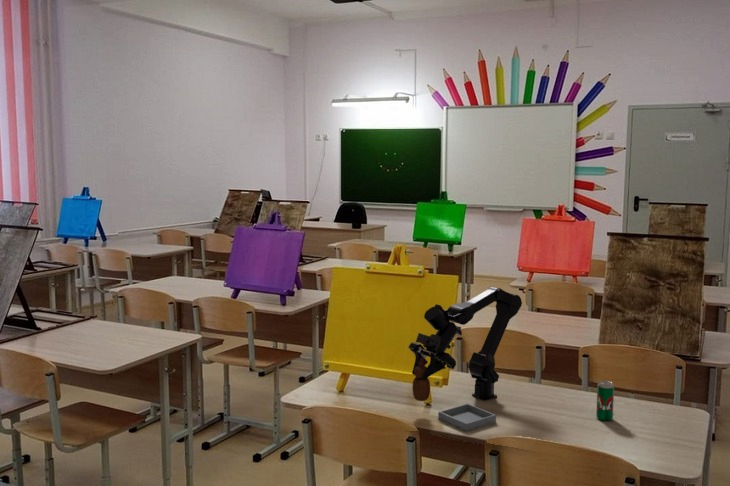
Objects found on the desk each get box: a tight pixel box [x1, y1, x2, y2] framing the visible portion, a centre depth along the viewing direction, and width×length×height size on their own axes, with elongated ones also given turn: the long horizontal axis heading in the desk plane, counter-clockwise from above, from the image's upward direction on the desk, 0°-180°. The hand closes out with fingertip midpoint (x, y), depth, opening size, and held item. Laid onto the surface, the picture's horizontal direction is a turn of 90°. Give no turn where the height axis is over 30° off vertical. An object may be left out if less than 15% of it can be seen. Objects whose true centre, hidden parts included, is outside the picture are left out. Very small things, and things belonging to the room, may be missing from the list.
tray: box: [437, 403, 497, 433], centre depth 217 cm, size 13×13×2 cm
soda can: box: [595, 380, 615, 422], centre depth 217 cm, size 5×5×12 cm
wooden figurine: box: [412, 357, 431, 402], centre depth 221 cm, size 7×6×15 cm
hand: (418, 376), depth 220 cm, fingers closed on wooden figurine, 5 cm apart
